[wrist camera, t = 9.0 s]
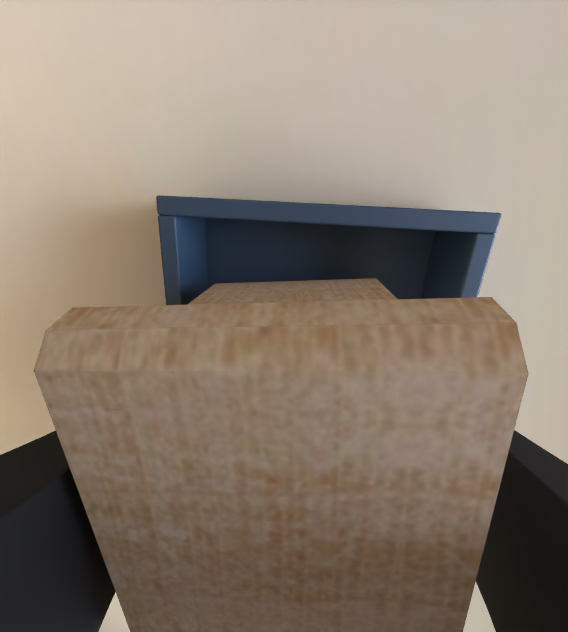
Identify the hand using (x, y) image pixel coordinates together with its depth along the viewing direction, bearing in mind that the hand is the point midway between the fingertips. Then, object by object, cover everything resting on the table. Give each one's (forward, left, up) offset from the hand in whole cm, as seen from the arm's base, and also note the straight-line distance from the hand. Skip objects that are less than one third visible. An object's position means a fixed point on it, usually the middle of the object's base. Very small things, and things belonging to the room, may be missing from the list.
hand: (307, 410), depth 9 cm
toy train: (-4, 0, -6) cm, 7 cm away
